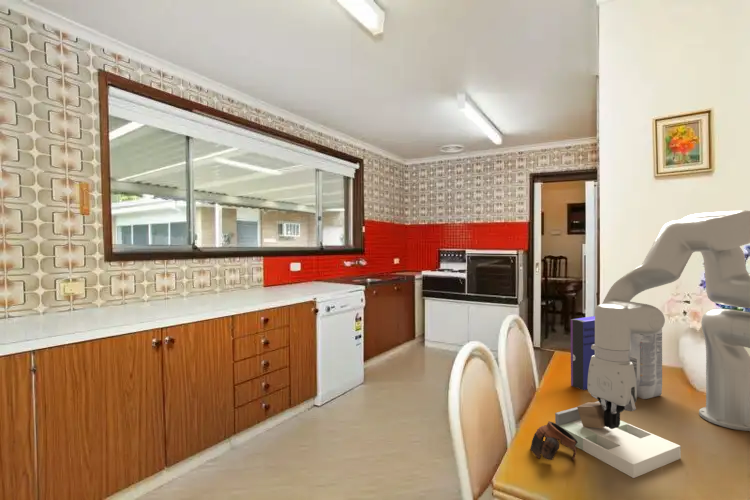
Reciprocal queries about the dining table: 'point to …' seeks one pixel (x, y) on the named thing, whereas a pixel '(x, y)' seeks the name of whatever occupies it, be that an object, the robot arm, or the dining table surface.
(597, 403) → the block
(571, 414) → the tray
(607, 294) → the robot arm
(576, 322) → the blue rectangular box
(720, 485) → the dining table surface
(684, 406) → the dining table surface
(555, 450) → the brown curved piece
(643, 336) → the juice carton
